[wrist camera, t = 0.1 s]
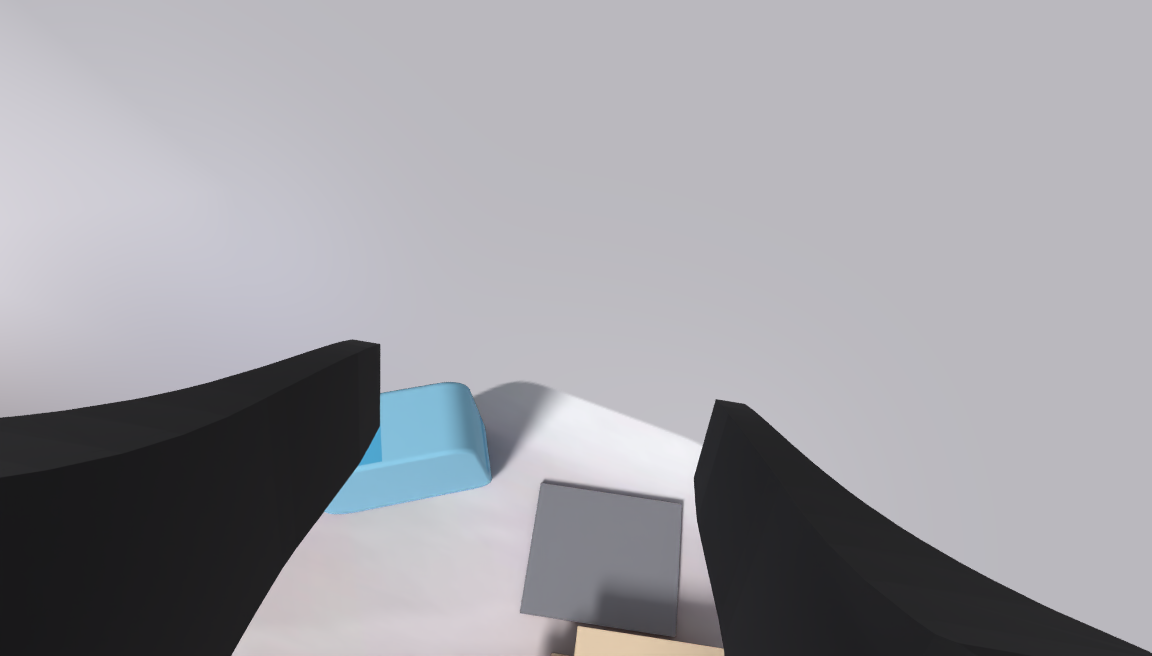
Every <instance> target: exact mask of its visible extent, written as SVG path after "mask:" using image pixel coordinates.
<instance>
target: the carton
mask: <svg viewBox="0 0 1152 656" xmlns="http://www.w3.org/2000/svg"><path fill="white" fill-rule="evenodd" d="M551 656H569V655H563V654H556V653H552V654H551ZM574 656H724V649H723V648H717V647H710V646H704V645H698V644H691V643H685V642H678V641H672V640H665V639H659V638H653V637H646V636H640V635H633V634H627V633H620V632H614V631H608V630H601V629H595V628H588V627H582V626H578V628H577V636H576V644H575V653H574Z"/></svg>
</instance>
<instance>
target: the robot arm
mask: <svg viewBox="0 0 1152 656" xmlns="http://www.w3.org/2000/svg"><path fill="white" fill-rule="evenodd" d="M379 427H380V344H376V343H370V342H364V341H358V340H348V341H342V342H338V343H335V344H331V345H328V346H325V347H321V348H319V349H315V350H312V351H309V352H306V353H303V354H300V355H297V356H294V357H291V358H288V359H285V360H282V361H279V362H276V363H273V364H270V365H267V366H263V367H260V368H257V369H253V370H250V371H247V372H243V373H240V374H237V375H233V376H230V377H226V378H223V379H220V380H216V381H213V382H209V383H205V384H201V385H198V386H193V387H190V388H185V389H181V390H177V391H172V392H168V393H163V394H158V395H154V396H149V397H144V398H139V399H134V400H128V401H121V402H115V403H109V404H103V405H97V406H90V407H84V408H78V409H72V410H66V411H58V412H50V413H41V414H32V415H24V416H15V417H3V418H0V656H231V655H232V653H233V651H234V650H235V648H236V646H237V644H238V643H239V641H240V639H241V637H242V636H243V634H244V632H245V630H246V629H247V627H248V625H249V623H250V622H251V620H252V618H253V616H254V615H255V613H256V611H257V610H258V608H259V606H260V605H261V603H262V601H263V600H264V598H265V596H266V595H267V593H268V591H269V590H270V588H271V586H272V585H273V583H274V582H275V580H276V578H277V577H278V575H279V573H280V572H281V570H282V568H283V567H284V565H285V564H286V563H287V561H288V560H289V558H290V557H291V555H292V554H293V552H294V551H295V549H296V548H297V547H298V545H299V544H300V543H301V541H302V540H303V539H304V537H305V536H306V535H307V533H308V532H309V531H310V529H311V528H312V527H313V525H314V524H315V523H316V521H317V520H318V519H319V518H320V516H321V515H322V514H323V512H324V511H325V510H326V508H327V507H328V506H329V504H330V503H331V502H332V500H333V499H334V498H335V496H336V495H337V494H338V492H339V491H340V490H341V488H342V487H343V486H344V484H345V483H346V482H347V480H348V479H349V477H350V476H351V475H352V473H353V472H354V471H355V469H356V468H357V466H358V465H359V464H360V462H361V460H362V459H363V457H364V455H365V453H366V451H367V450H368V448H369V446H370V444H371V442H372V440H373V438H374V437H375V435H376V433H377V431H378V429H379ZM694 489H695V504H696V515H697V523H698V528H699V533H700V537H701V542H702V547H703V551H704V556H705V560H706V565H707V569H708V574H709V578H710V583H711V587H712V592H713V596H714V601H715V605H716V610H717V614H718V619H719V624H720V629H721V635H722V641H723V647H724V656H1152V653H1150V652H1149V651H1146V650H1144V649H1142V648H1140V647H1137V646H1135V645H1133V644H1130V643H1128V642H1126V641H1124V640H1121V639H1119V638H1116V637H1114V636H1112V635H1110V634H1107V633H1105V632H1103V631H1101V630H1098V629H1096V628H1094V627H1091V626H1089V625H1087V624H1085V623H1082V622H1080V621H1078V620H1075V619H1073V618H1071V617H1068V616H1066V615H1064V614H1062V613H1059V612H1057V611H1055V610H1053V609H1050V608H1048V607H1046V606H1044V605H1042V604H1040V603H1038V602H1035V601H1034V600H1032V599H1030V598H1027V597H1026V596H1024V595H1022V594H1020V593H1018V592H1016V591H1014V590H1012V589H1010V588H1008V587H1006V586H1004V585H1002V584H1000V583H997V582H995V581H993V580H992V579H990V578H988V577H986V576H984V575H982V574H980V573H978V572H977V571H975V570H973V569H971V568H969V567H967V566H965V565H963V564H961V563H959V562H958V561H956V560H955V559H953V558H951V557H949V556H948V555H946V554H944V553H943V552H941V551H939V550H937V549H936V548H934V547H932V546H931V545H929V544H927V543H925V542H923V541H922V540H920V539H919V538H917V537H915V536H914V535H912V534H911V533H909V532H907V531H906V530H904V529H902V528H901V527H899V526H898V525H896V524H895V523H894V522H892V521H891V520H889V519H887V518H886V517H884V516H883V515H881V514H880V513H879V512H877V511H876V510H874V509H873V508H871V507H870V506H868V505H867V504H865V503H864V502H863V501H861V500H860V499H859V498H857V497H856V496H854V495H853V494H852V493H850V492H849V491H848V490H847V489H845V488H844V487H843V486H841V485H840V484H839V483H838V482H836V481H835V480H834V479H832V478H831V477H830V476H829V475H827V474H826V473H825V472H824V471H822V470H821V469H820V468H819V467H818V466H816V465H815V464H814V463H813V462H812V461H810V460H809V459H808V458H807V457H806V456H805V455H803V454H802V453H801V452H800V451H799V450H798V449H797V448H795V447H794V446H793V445H792V444H791V443H790V442H789V441H787V439H785V438H784V437H783V436H782V435H781V434H780V433H779V432H778V431H776V430H775V429H774V428H773V427H772V426H771V425H770V424H769V423H768V422H766V421H765V420H764V419H763V418H762V417H761V416H760V415H758V414H757V413H756V412H755V411H754V410H752V409H751V408H750V407H748V406H747V405H745V404H742V403H735V402H729V401H723V400H717V399H716V401H715V405H714V408H713V412H712V415H711V419H710V422H709V426H708V429H707V433H706V436H705V440H704V444H703V447H702V451H701V454H700V458H699V461H698V465H697V469H696V472H695V476H694Z"/></svg>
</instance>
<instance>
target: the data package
mask: <svg viewBox="0 0 1152 656" xmlns="http://www.w3.org/2000/svg"><path fill="white" fill-rule="evenodd" d="M491 480H492V477H491V469H490V462H489V454H488V446H487V439H486V431H485V426H484V423H483V421H482V419H481V416H480V414H479V411H478V409H477V406H476V404H475V401H474V399H473V396H472V394H471V392H470V389H469V388H468V387H467V386H466V385H464V384H461V383H455V382H444V383H437V384H431V385H425V386H419V387H414V388H408V389H402V390H396V391H390V392H384V393H380V427H379V429H378V431H377V433H376V435H375V437H374V438H373V440H372V442H371V444H370V446H369V448H368V450H367V451H366V453H365V455H364V457H363V459H362V460H361V462H360V464H359V465H358V466H357V468H356V469H355V471H354V472H353V473H352V475H351V476H350V477H349V479H348V480H347V482H346V483H345V484H344V486H343V487H342V488H341V490H340V491H339V492H338V494H337V495H336V496H335V498H334V499H333V500H332V502H331V503H330V504H329V506H328V507H327V508H326V510H325V511H324V512H326V513H330V514H347V513H354V512H359V511H364V510H369V509H374V508H379V507H384V506H389V505H394V504H399V503H405V502H410V501H415V500H420V499H425V498H430V497H435V496H440V495H445V494H450V493H455V492H460V491H465V490H470V489H475V488H479V487H482V486H485V485H487V484H489V483H490V482H491Z"/></svg>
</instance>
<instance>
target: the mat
mask: <svg viewBox="0 0 1152 656" xmlns="http://www.w3.org/2000/svg"><path fill="white" fill-rule="evenodd" d="M681 514H682V504H679V503H672V502H665V501H659V500H652V499H645V498H639V497H632V496H625V495H619V494H612V493H605V492H599V491H592V490H585V489H579V488H572V487H565V486H559V485H552V484H545V483H541V486H540V492H539V498H538V505H537V511H536V517H535V523H534V529H533V535H532V541H531V547H530V554H529V560H528V566H527V572H526V578H525V584H524V590H523V596H522V603H521V609H520V613H522V614H529V615H535V616H542V617H548V618H555V619H561V620H567V621H574V622H580V623H587V624H593V625H600V626H606V627H612V628H619V629H625V630H632V631H638V632H645V633H651V634H658V635H664V636H670V637H676V618H677V597H678V577H679V556H680V535H681Z"/></svg>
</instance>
